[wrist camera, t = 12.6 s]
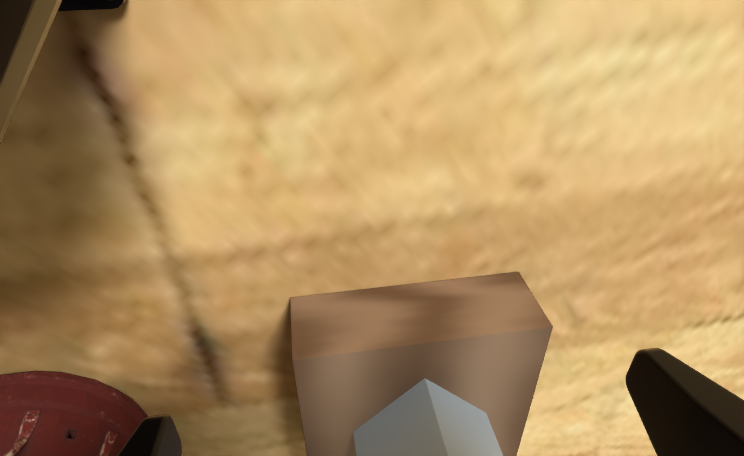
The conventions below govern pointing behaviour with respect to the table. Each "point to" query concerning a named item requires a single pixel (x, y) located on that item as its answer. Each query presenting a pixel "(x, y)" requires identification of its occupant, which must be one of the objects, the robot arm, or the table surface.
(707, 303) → the table surface
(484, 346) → the walnut block
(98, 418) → the lantern
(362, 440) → the slate pillar
